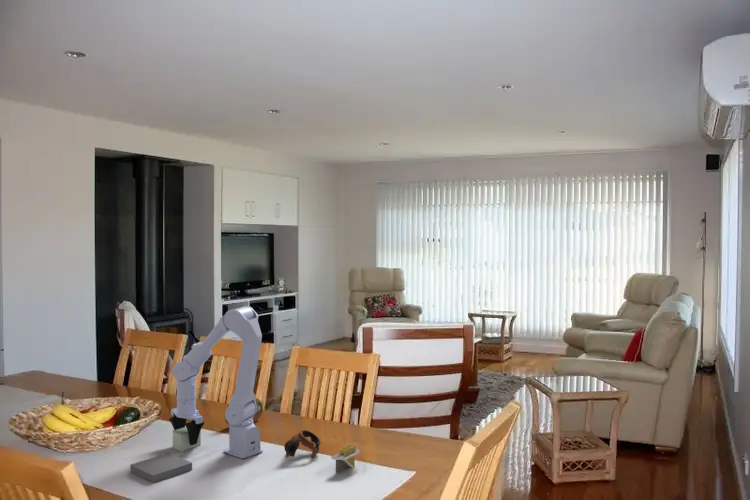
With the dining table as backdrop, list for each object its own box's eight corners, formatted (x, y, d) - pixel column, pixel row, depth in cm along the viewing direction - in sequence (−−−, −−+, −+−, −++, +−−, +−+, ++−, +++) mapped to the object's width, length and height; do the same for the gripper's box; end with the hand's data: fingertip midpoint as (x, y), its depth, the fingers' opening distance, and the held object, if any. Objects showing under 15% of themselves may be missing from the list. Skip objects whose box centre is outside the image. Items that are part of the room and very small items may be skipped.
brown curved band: (296, 449, 194) (309, 426, 194) (315, 468, 189) (329, 446, 188) (271, 450, 184) (285, 427, 184) (291, 471, 179) (305, 447, 178)
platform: (381, 465, 181) (381, 442, 180) (344, 486, 166) (344, 461, 165) (348, 456, 187) (348, 435, 187) (310, 476, 172) (310, 452, 172)
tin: (229, 430, 211) (228, 405, 211) (223, 428, 213) (223, 403, 213) (263, 419, 223) (263, 396, 223) (257, 417, 225) (257, 394, 225)
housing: (200, 445, 196) (200, 428, 196) (181, 451, 191) (180, 433, 191) (192, 442, 199) (192, 425, 199) (172, 448, 194) (172, 430, 194)
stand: (192, 469, 176) (192, 462, 176) (153, 482, 167) (153, 475, 167) (168, 459, 184) (168, 453, 184) (130, 471, 174) (130, 464, 174)
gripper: (211, 400, 193) (211, 443, 193) (184, 392, 202) (184, 433, 203) (191, 404, 188) (191, 449, 188) (164, 396, 197) (165, 439, 197)
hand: (186, 441), depth 195 cm, fingers open, 7 cm apart
